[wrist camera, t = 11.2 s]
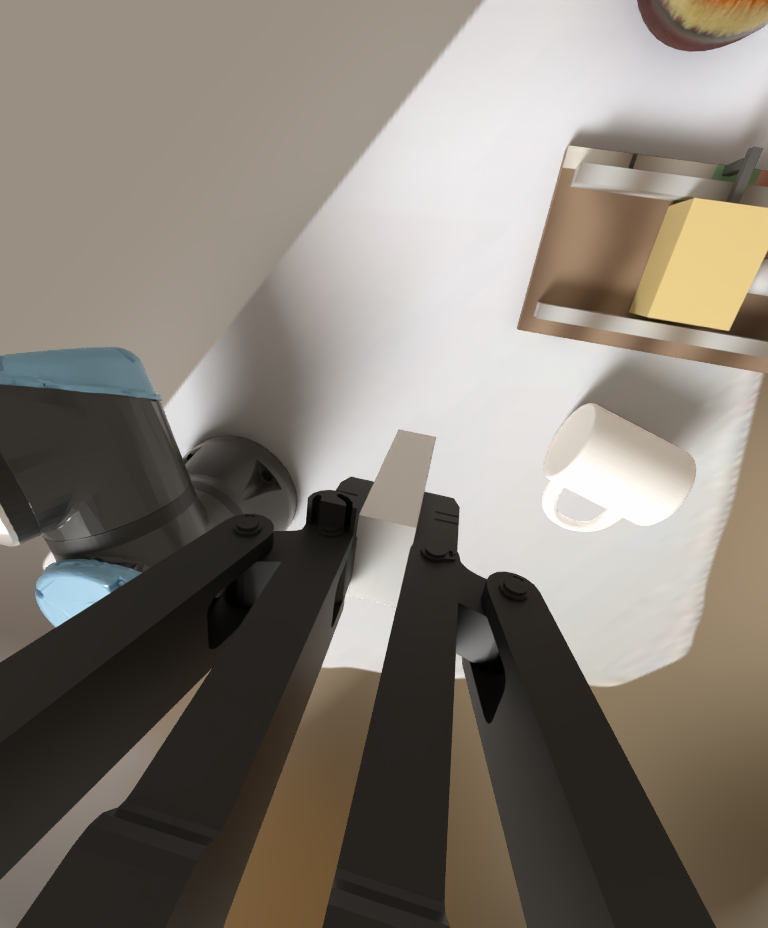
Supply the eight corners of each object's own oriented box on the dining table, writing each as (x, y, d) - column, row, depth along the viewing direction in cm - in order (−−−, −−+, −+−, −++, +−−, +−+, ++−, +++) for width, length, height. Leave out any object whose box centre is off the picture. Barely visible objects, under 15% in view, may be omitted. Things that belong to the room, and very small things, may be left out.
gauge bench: (516, 328, 41) (525, 339, 34) (565, 149, 35) (586, 122, 28) (787, 375, 38) (851, 397, 32) (891, 192, 32) (996, 173, 26)
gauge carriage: (628, 312, 37) (647, 317, 33) (688, 154, 32) (718, 138, 28) (738, 330, 36) (771, 337, 32) (817, 170, 31) (866, 156, 27)
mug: (584, 392, 42) (607, 417, 35) (673, 438, 42) (713, 473, 35) (516, 486, 47) (524, 525, 40) (595, 527, 48) (617, 572, 40)
